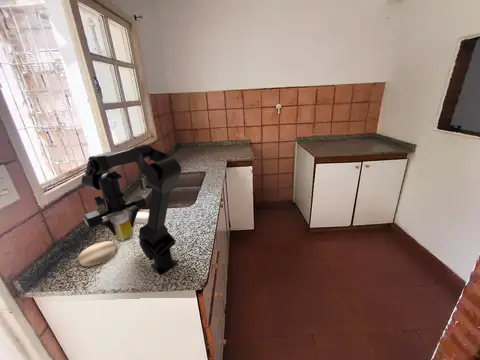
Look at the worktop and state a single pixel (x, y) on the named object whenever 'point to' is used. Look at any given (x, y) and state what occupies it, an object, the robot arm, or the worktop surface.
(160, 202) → the robot arm
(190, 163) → the worktop surface
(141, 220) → the soap
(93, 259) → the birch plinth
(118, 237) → the supplement bottle
